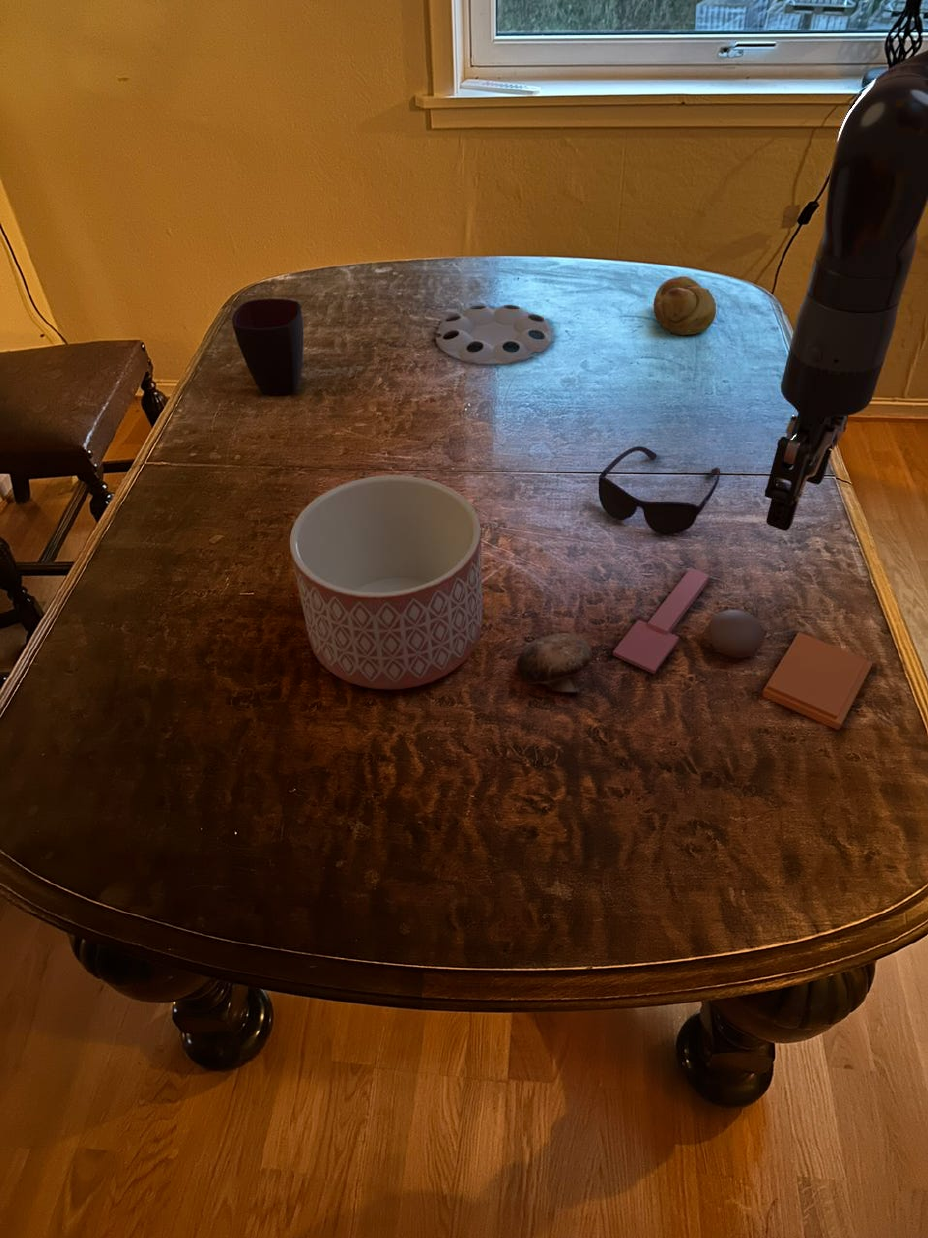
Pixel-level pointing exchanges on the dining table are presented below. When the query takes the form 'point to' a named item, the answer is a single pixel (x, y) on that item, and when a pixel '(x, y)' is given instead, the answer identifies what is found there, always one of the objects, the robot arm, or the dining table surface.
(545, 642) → the mushroom
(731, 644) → the egg
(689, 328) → the bread roll
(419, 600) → the planter
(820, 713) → the brown flat block
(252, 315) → the cup
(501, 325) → the paint palette
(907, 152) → the robot arm
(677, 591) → the spatula
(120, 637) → the dining table surface
